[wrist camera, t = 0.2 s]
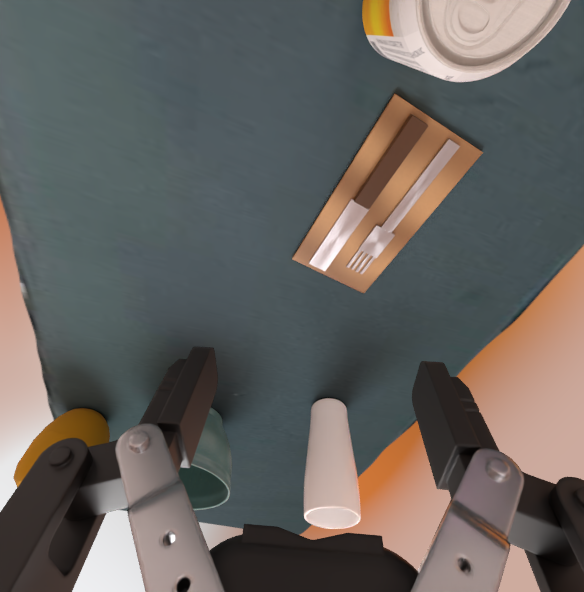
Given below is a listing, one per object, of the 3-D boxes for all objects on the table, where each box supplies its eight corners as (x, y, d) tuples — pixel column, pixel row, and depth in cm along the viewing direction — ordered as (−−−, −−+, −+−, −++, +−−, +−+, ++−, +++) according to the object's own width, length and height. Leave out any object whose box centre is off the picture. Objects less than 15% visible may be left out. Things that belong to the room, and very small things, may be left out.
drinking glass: (324, 387, 49) (326, 501, 37) (360, 404, 51) (374, 518, 39) (297, 409, 52) (292, 519, 41) (332, 424, 54) (337, 533, 43)
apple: (98, 441, 62) (55, 521, 52) (43, 410, 57) (-17, 493, 47) (136, 424, 58) (98, 508, 48) (81, 390, 53) (24, 475, 43)
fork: (443, 134, 28) (444, 135, 27) (464, 148, 28) (465, 149, 28) (345, 265, 36) (345, 266, 36) (362, 274, 36) (363, 275, 36)
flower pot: (213, 452, 62) (197, 520, 54) (128, 419, 57) (95, 487, 48) (262, 414, 54) (251, 486, 45) (167, 370, 49) (135, 443, 40)
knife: (408, 111, 27) (410, 113, 26) (428, 125, 27) (430, 127, 27) (308, 262, 36) (308, 266, 35) (325, 270, 36) (325, 274, 36)
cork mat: (394, 93, 26) (395, 93, 26) (481, 151, 29) (483, 152, 28) (292, 257, 36) (292, 259, 36) (363, 292, 38) (363, 293, 38)
